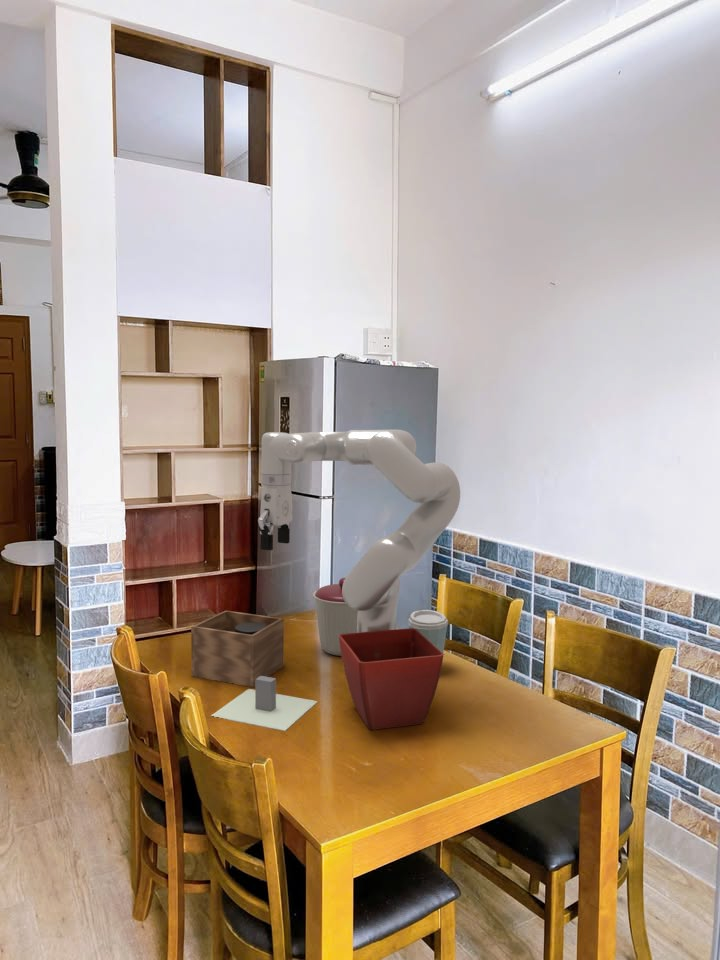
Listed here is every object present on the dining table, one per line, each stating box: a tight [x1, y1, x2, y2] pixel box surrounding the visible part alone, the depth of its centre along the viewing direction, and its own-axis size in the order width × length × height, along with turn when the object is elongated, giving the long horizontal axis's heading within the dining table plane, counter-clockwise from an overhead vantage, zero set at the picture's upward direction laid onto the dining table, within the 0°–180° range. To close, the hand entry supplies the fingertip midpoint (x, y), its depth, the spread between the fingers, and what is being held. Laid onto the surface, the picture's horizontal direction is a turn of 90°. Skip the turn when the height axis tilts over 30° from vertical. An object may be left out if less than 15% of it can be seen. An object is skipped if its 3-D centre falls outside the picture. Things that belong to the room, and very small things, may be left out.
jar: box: [235, 622, 266, 635], centre depth 188 cm, size 9×8×12 cm
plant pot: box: [339, 627, 445, 730], centre depth 162 cm, size 19×19×17 cm
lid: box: [210, 676, 318, 732], centre depth 166 cm, size 19×17×8 cm
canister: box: [312, 577, 358, 657], centre depth 205 cm, size 18×18×21 cm
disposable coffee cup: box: [407, 609, 449, 654], centre depth 191 cm, size 11×11×15 cm
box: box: [190, 610, 285, 688], centre depth 188 cm, size 18×16×13 cm
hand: (275, 546), depth 187 cm, fingers open, 9 cm apart
